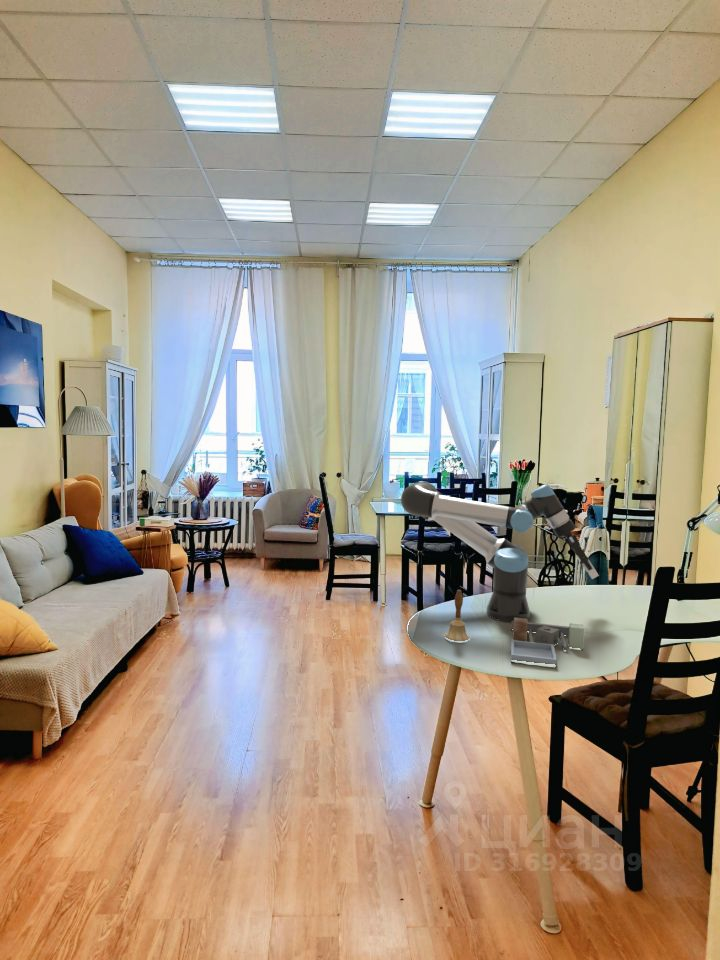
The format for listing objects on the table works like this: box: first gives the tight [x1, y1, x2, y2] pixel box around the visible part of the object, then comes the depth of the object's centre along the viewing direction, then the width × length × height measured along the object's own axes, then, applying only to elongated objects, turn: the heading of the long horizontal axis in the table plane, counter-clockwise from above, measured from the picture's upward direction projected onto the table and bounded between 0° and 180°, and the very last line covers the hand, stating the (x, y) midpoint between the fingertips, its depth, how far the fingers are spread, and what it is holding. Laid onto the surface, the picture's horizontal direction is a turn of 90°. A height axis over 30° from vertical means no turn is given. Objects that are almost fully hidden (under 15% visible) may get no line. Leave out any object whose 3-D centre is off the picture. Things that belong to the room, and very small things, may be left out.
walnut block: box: [512, 618, 528, 642], centre depth 201 cm, size 4×4×7 cm
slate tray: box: [510, 639, 558, 666], centre depth 188 cm, size 13×13×2 cm
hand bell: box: [444, 589, 470, 641], centre depth 201 cm, size 8×8×16 cm
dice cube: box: [535, 626, 560, 645], centre depth 199 cm, size 5×5×5 cm
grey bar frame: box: [510, 621, 569, 651], centre depth 202 cm, size 22×16×3 cm
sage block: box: [567, 622, 585, 650], centre depth 197 cm, size 4×4×7 cm
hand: (592, 573), depth 231 cm, fingers open, 13 cm apart
